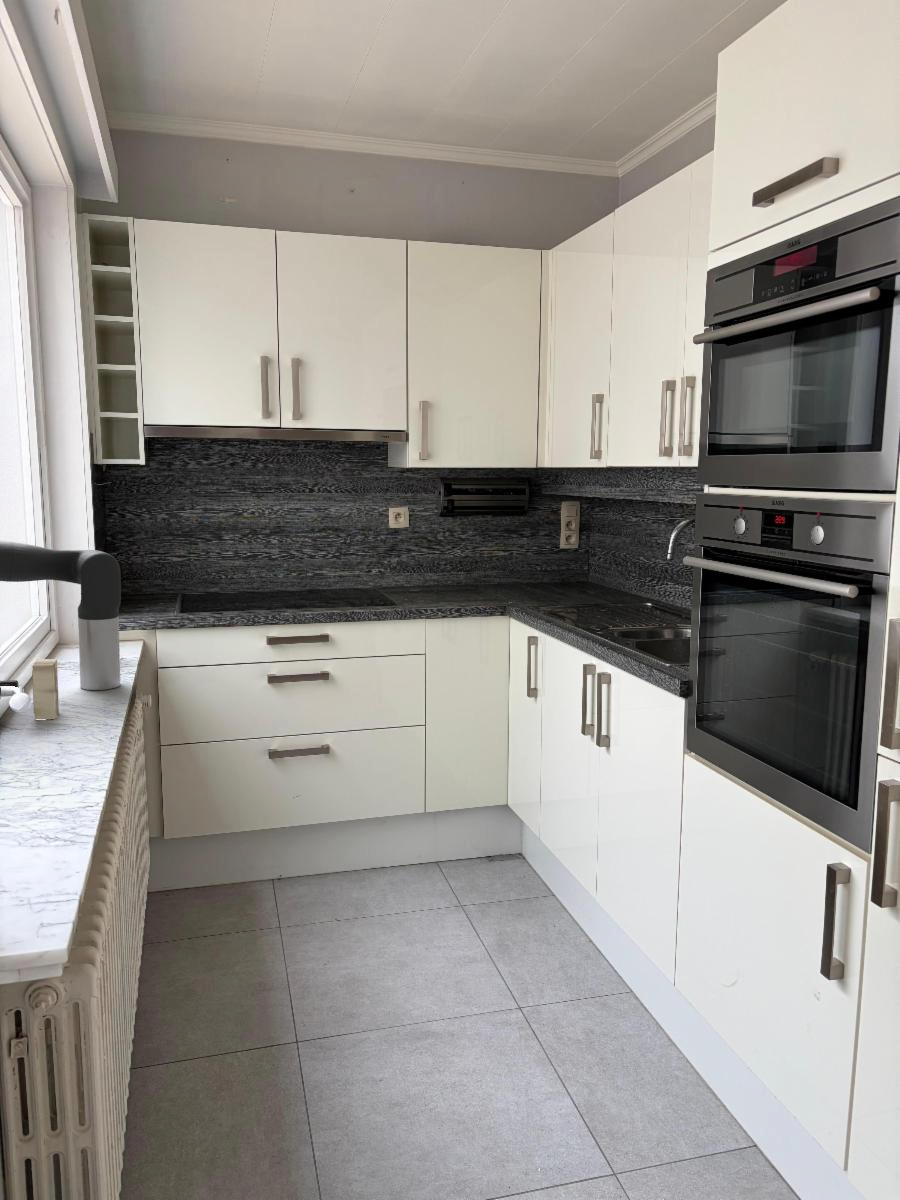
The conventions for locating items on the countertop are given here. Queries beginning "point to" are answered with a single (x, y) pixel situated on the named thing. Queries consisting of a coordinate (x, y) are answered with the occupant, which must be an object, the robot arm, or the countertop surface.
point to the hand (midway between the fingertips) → (17, 685)
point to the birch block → (45, 689)
